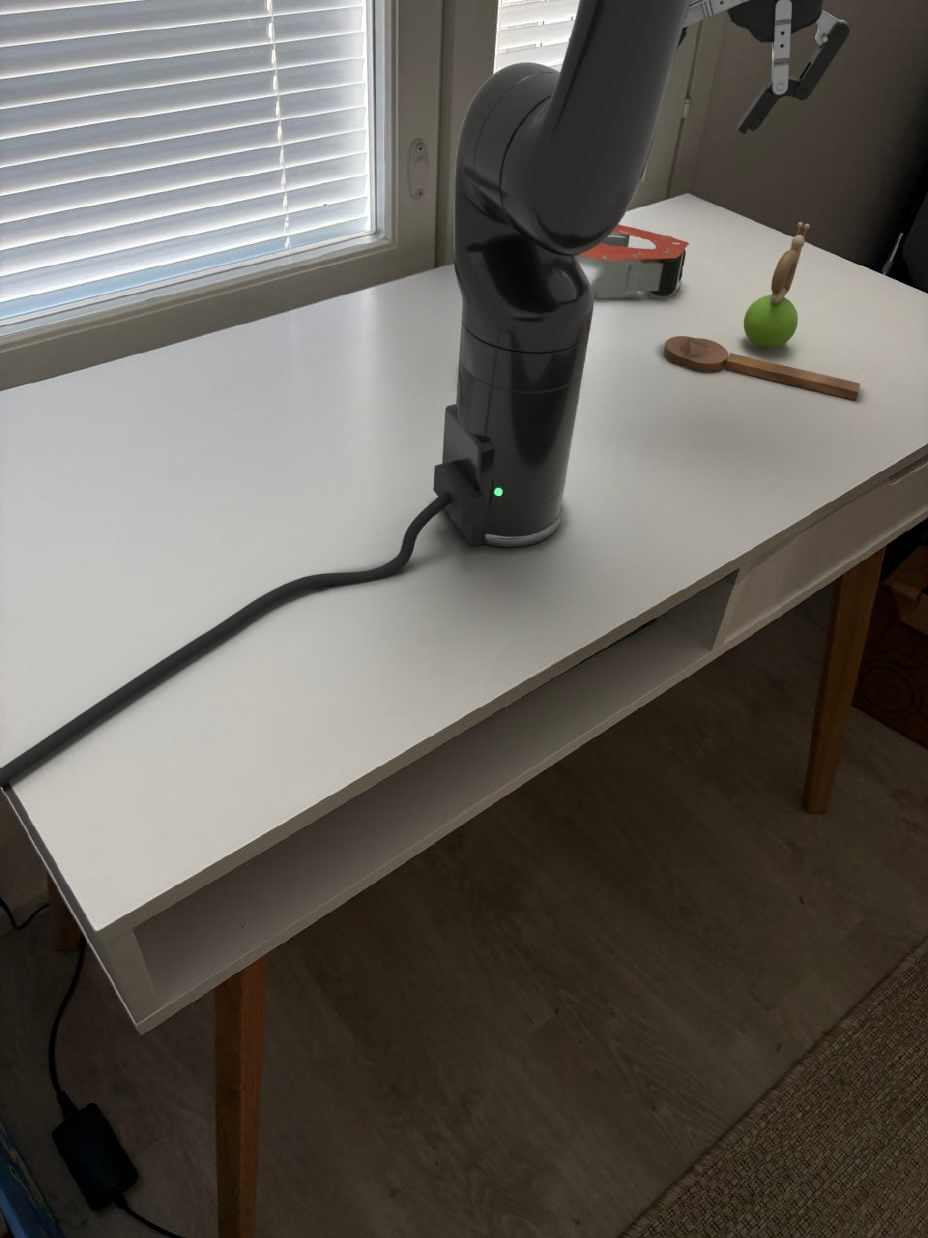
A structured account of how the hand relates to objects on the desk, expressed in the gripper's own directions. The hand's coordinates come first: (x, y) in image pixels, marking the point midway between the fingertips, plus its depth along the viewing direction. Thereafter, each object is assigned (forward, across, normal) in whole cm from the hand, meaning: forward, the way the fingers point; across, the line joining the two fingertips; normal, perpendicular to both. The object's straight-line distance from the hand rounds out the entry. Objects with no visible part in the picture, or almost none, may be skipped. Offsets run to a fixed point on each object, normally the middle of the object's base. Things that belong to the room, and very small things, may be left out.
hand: (699, 101), depth 85 cm
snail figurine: (+17, +21, +12) cm, 30 cm away
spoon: (+18, +21, +5) cm, 28 cm away
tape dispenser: (+24, +4, +18) cm, 31 cm away
